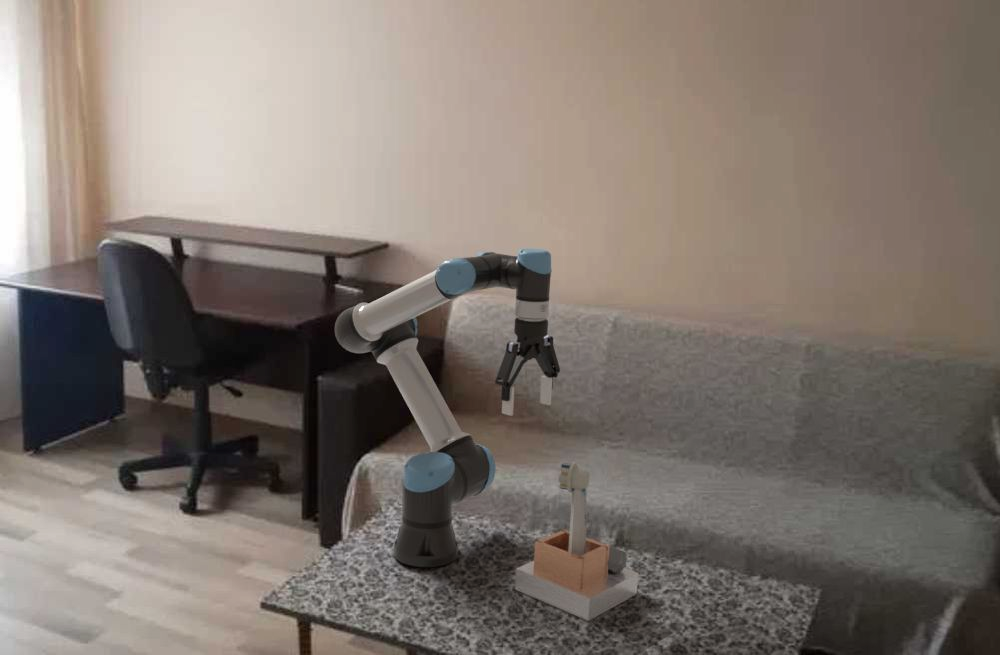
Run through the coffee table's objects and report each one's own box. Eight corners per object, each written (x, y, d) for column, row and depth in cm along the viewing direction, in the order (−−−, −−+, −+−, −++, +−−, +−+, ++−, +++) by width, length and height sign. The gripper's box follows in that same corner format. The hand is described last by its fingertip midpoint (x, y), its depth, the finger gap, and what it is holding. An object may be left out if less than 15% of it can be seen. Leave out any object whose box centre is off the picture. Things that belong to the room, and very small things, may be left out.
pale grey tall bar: (581, 581, 220) (589, 470, 216) (552, 574, 223) (559, 465, 218) (589, 571, 225) (596, 463, 220) (560, 565, 228) (567, 458, 223)
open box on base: (515, 589, 226) (517, 538, 224) (565, 565, 240) (568, 517, 237) (588, 621, 213) (591, 567, 211) (636, 594, 227) (640, 543, 224)
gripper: (507, 327, 219) (503, 422, 223) (578, 314, 238) (572, 403, 242) (482, 321, 224) (477, 415, 228) (553, 309, 243) (548, 396, 247)
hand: (526, 409), depth 235 cm, fingers open, 13 cm apart
